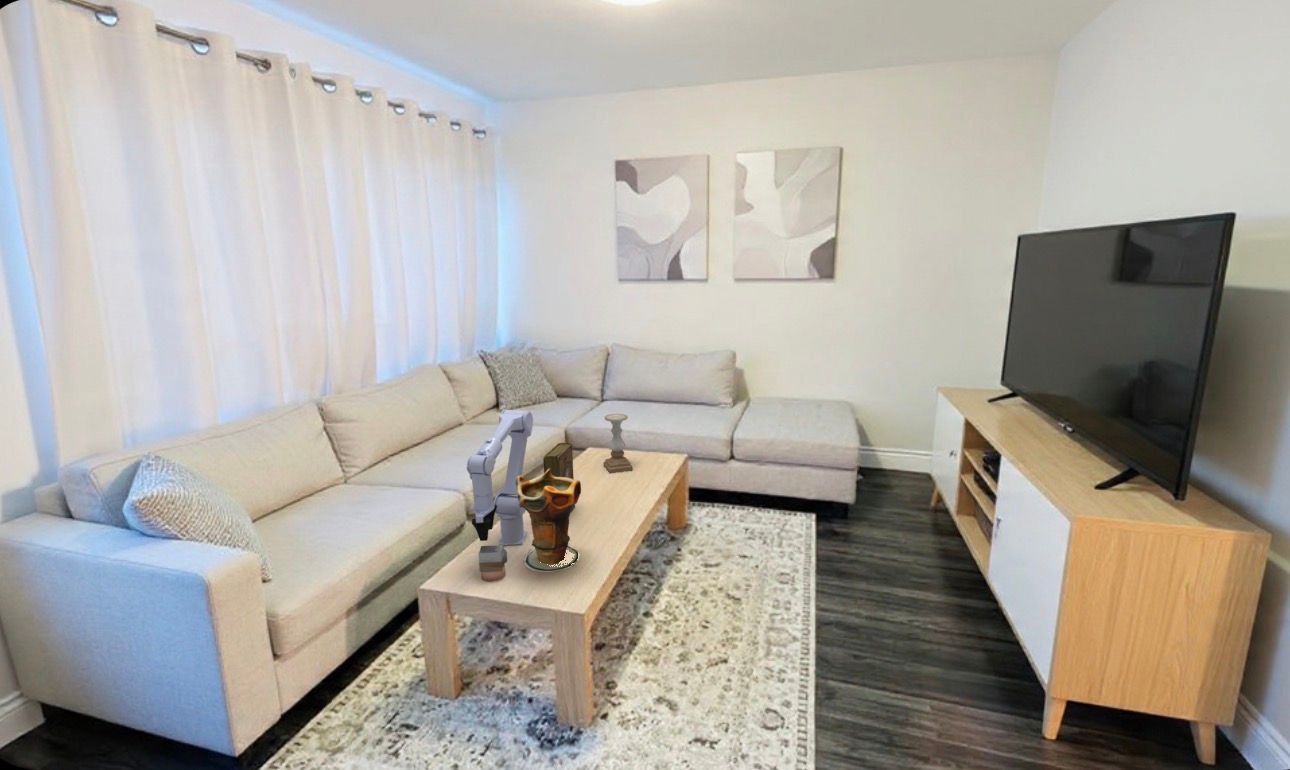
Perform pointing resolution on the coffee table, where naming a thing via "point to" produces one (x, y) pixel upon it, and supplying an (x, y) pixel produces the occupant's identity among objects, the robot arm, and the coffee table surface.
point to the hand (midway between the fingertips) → (486, 534)
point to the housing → (491, 558)
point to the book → (560, 461)
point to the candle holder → (617, 446)
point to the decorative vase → (548, 518)
